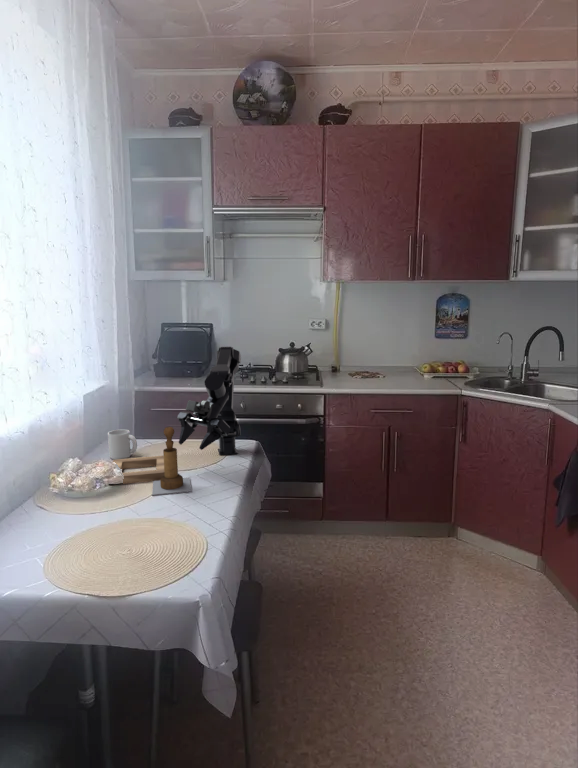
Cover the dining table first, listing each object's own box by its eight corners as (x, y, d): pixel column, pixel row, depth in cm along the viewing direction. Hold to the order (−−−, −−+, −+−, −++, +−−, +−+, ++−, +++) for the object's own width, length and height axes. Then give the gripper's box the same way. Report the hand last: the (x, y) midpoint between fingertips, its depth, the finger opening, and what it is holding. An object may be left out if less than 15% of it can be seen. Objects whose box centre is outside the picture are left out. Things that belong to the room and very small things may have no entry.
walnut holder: (114, 466, 173) (113, 459, 173) (166, 462, 177) (165, 455, 176) (108, 485, 157) (108, 477, 156) (166, 479, 161) (166, 472, 160)
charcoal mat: (153, 482, 159) (153, 481, 159) (189, 478, 161) (189, 477, 161) (152, 495, 148) (152, 494, 148) (191, 492, 151) (191, 490, 151)
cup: (114, 453, 188) (112, 429, 186) (141, 453, 187) (139, 429, 185) (106, 459, 180) (104, 435, 179) (134, 460, 180) (132, 435, 178)
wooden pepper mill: (171, 491, 150) (168, 431, 147) (155, 487, 154) (152, 428, 151) (187, 483, 156) (184, 425, 153) (172, 479, 159) (168, 423, 156)
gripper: (179, 386, 166) (154, 428, 159) (222, 393, 155) (196, 437, 148) (199, 406, 173) (175, 446, 167) (240, 413, 162) (217, 456, 156)
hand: (190, 446), depth 159 cm, fingers open, 9 cm apart
